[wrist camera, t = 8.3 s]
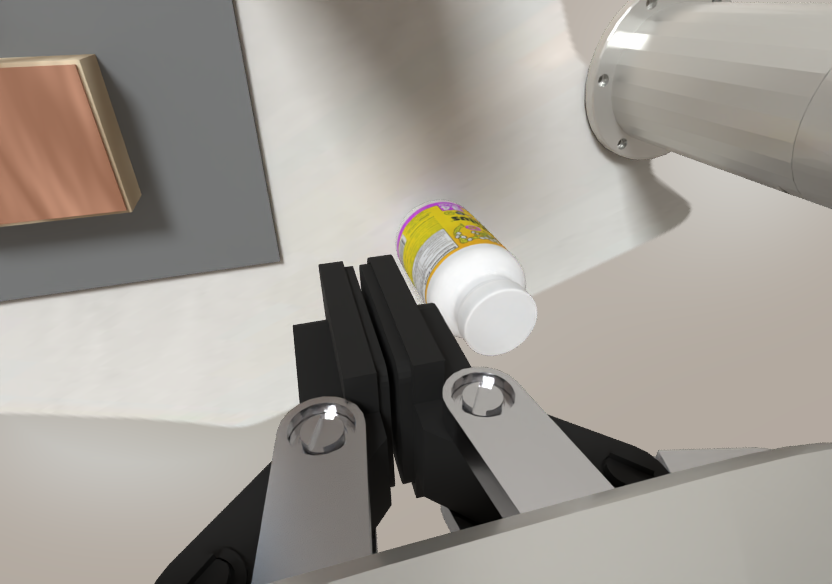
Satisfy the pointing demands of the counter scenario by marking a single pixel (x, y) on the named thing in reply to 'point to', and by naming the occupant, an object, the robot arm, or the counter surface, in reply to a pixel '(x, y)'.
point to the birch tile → (60, 142)
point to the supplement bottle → (466, 277)
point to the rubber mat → (150, 146)
